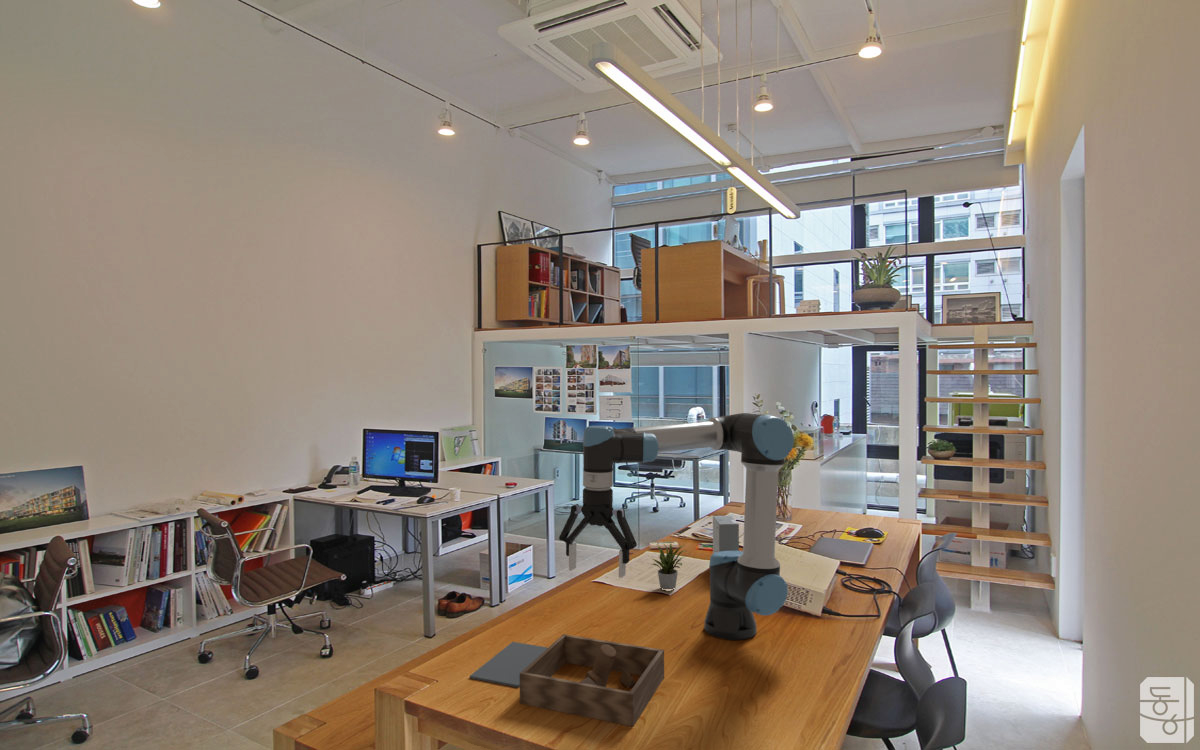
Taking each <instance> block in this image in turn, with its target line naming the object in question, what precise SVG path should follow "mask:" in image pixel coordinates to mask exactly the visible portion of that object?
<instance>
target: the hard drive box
mask: <svg viewBox="0 0 1200 750" xmlns="http://www.w3.org/2000/svg"><path fill="white" fill-rule="evenodd" d="M739 533H740V524H739V523H738V521H736V519H735V518H734V517H733V516H732V515H712V554H714V553H716V552H721V551H740V536H739V535H740V534H739Z"/></svg>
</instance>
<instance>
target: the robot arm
mask: <svg viewBox="0 0 1200 750" xmlns="http://www.w3.org/2000/svg"><path fill="white" fill-rule="evenodd" d="M794 441H795V439H794V434H793V431H792V429H791V426H790V425H789V424H788V423H787V422H786V421H785V420H784V419H782V418H781V417H778V416H774V415H771V414H756V413H750V412H749V413H748V412H741V413H735V414H728V415H721V416H714V417H709V418H708V420H706V421H695V422H686V423H685V422H683V423H673V424H661V425H659V424H658V425H649V426H648V425H647V426H638V427H624V428H615V427H612V426H610V425H609V426H608V425H589V426H586V427H585V428H584V430H583V441H582V448H583V449H582V450H583V451H582V456H583V457H582V459H583V461H582V462H583V465H582V466H583V467H582V472H583V474H582V486H583V487H584V488H583V489H582V505H580V504H578V503H576V504H574V505H571V507H570V513H569V516H568V518H567V520H566V522H565V524H564V526H563V528H562V531H561V532H560V534H559V536H558V540H560V541H562V542H564V543H565V555H566V557H568V571H571V572H572V571H573V570H575V569H577V542H576V541H575V540H576V538H578V537H579V535H580V534H581V533H582V532H583V530H584V529H585V528H586V527H587V526H588V525H590V526H598V527H603V526H604V528H605V529H607V530H608V531H609V533H610V535H611V536H612V538H613V539H614V540H615V542H616V543H617V545H618V546H619V547H620V550H618V578H620V579H622V578H623V577H625V576H626V573H627V571H626V569H627V567H626V565H627V564H628V563H629V562H630V550H633V549H635V548H636V547H638V546H637V545H638V544H637V542H636V541H637V540H636V539H635V537H634V534H633V532H632V530H631V527H630V525H629V522H628V521H627V518H626V511H625V509H624V508H622V507H621V508H620V509H614V508H613V502H614V498H613V497H614V496H613V495H614V491H613V489H612V487H614V464H631V463H634V464H635V463H642V464H645V463H650V462H654V461H655V460H656V459H657V458H658V455H659V453H664V452H665V453H666V452H676V451H685V450H686V451H687V450H697V449H704V448H705V449H707V448H710V449H711V450H713V451H721V450H722V451H731V452H738V453H741V455H740V456H741V457H740V458H741V459H740V463H741V464H742V465H743V466H744V467H745V470H746V473H745V493H744V494H745V495H744V521H743V541H742V542H743V545H742V550H739V551H721V552H716V553H714V554H713V553H712V554H711V555H710V558H709V565H708V567H709V595H710V596H709V598H710V599H709V606H708V609H707V612H706V616H705V618H704V631H705V632H706V633H707V634H708V635H710V636H711V637H714V638H718V639H722V640H727V641H728V640H729V641H738V640H739V641H740V640H748V639H750V638H753V637H754V636H755V635H757V622H756V618H755V616H754V613H755V614H757V615H760V616H771V615H774V614H775V613H777V612H778V611H779V610H780V608H783V606H784V605H785V604H786V603H785V602H786V601H787V598H788V593H789V591H788V590H789V588H788V584H787V581H786V580H785V579H784V578H783V577H782V576H781V575H780V574H781V563H780V562H779V560H778V559H777V558H776V555H775V554H776V532H777V509H778V508H777V506H778V505H777V504H778V483H779V480H778V479H779V478H778V477H779V470H780V469H781V468H783V467H784V466H785V458H787V457H788V456H789V455H790V452H792V450H793V446H794V443H795V442H794ZM579 514H582V515H583V518H582V519H581V521H580V522H579V524H578V525H577V526H576V527H575V528H574V530H572V528H573V527H574V524H575V522H576V520H577V518H578V516H579ZM613 516H614V517H615V519H617V522H618V525H619V528H620V530H619V528H618V526H616V522H615V521H614V520H613ZM571 530H572V532H571Z"/></svg>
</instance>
